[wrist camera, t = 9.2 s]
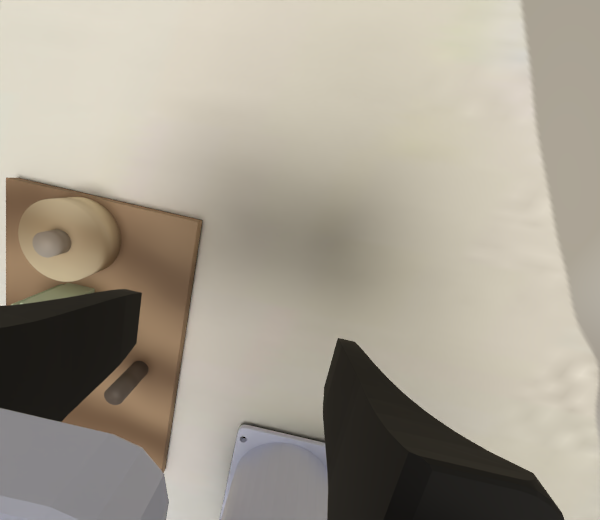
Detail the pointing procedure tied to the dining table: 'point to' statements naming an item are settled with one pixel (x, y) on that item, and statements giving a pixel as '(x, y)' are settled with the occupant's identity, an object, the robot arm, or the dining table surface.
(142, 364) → the gear board
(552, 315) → the dining table surface
